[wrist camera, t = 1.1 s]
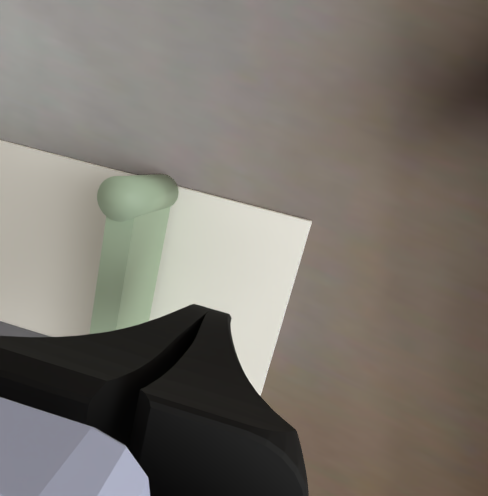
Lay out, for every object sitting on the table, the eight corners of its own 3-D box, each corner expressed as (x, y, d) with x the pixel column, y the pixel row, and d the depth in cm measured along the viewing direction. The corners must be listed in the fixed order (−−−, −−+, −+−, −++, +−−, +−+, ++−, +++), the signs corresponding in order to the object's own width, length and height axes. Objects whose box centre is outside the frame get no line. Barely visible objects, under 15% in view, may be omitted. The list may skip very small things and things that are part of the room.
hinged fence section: (140, 393, 22) (98, 454, 17) (112, 384, 22) (63, 443, 17) (181, 178, 18) (143, 182, 14) (148, 170, 18) (100, 171, 14)
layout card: (220, 529, 24) (219, 536, 24) (-43, 440, 26) (-49, 445, 25) (311, 220, 19) (311, 222, 18) (-30, 131, 20) (-38, 131, 20)
